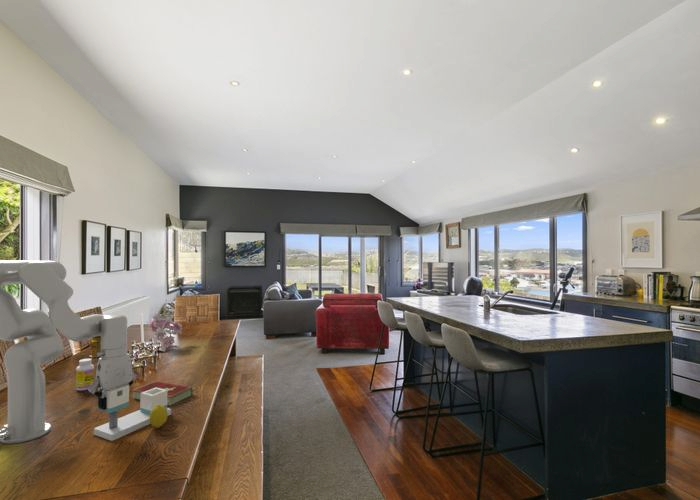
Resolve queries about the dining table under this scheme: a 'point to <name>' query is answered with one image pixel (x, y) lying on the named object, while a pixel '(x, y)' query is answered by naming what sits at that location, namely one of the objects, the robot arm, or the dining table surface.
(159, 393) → the seated sleeve
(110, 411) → the sleeve
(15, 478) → the dining table surface
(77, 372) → the supplement bottle
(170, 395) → the hardcover book
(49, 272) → the robot arm
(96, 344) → the condiment
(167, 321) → the flower
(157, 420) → the lemon
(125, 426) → the pin board
